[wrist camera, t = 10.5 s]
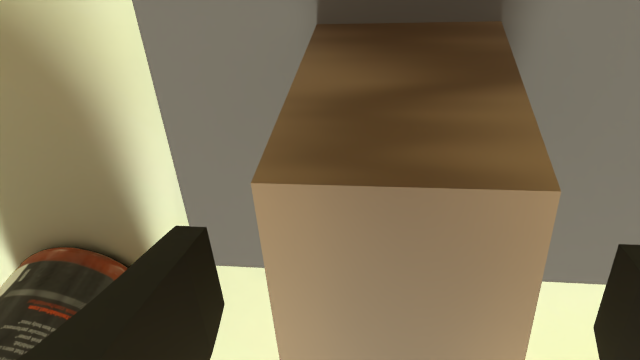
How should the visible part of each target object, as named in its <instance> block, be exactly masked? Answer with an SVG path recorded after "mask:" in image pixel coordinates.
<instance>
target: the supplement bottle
mask: <svg viewBox="0 0 640 360" xmlns="http://www.w3.org/2000/svg"><path fill="white" fill-rule="evenodd" d="M127 269H128V268H127V267H125V266H124V265H122V264H121V263H119V262H117V261H115V260H113V259H111V258H109V257H107V256H105V255H102V254H99V253H96V252H92V251H88V250H84V249H78V248H70V247H59V248H52V249H45V250H42V251H40V252H38V253H35V254H33V255H31V256H30V257H28V258H27V259H26V260H25V261H23V262H22V263H21V265H20V266H19V267H18V268H17V269H16V270H15V271H14V272H13V273H12V274H11V275H10V277H9V278H8V279H7V280H6V281H5V283H4V284H3V285H2V286H1V288H0V360H17V359H18V358H19V357H21V356H22V355H24V354H25V353H26V352H28V351H29V350H30V349H32V348H33V347H34V346H36V345H37V344H38V343H40V342H41V341H42V340H43V339H45V338H46V337H47V336H48V335H50V334H51V333H52V332H53V331H55V330H56V329H57V328H58V327H60V326H61V325H62V324H63V323H64V322H66V321H67V320H68V319H69V318H71V317H72V316H73V315H74V314H76V313H77V312H78V311H79V310H81V309H82V308H83V307H84V306H86V305H87V304H88V303H89V302H90V301H92V300H93V299H94V298H95V297H96V296H97V295H98V294H100V293H101V292H102V291H103V290H104V289H105V288H106V287H108V286H109V285H110V284H111V283H112V282H113V281H114V280H116V279H117V278H118V277H119V276H120V275H121V274H122V273H124V272H125V271H126V270H127Z"/></svg>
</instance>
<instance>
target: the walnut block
mask: <svg viewBox="0 0 640 360" xmlns="http://www.w3.org/2000/svg"><path fill="white" fill-rule="evenodd" d="M251 188H252V194H253V200H254V206H255V212H256V218H257V224H258V230H259V237H260V243H261V249H262V255H263V261H264V267H265V273H266V279H267V285H268V291H269V297H270V303H271V309H272V315H273V322H274V328H275V334H276V340H277V346H278V352H279V358H280V360H525V357H526V352H527V348H528V343H529V338H530V334H531V329H532V325H533V320H534V315H535V311H536V306H537V301H538V297H539V292H540V287H541V283H542V278H543V274H544V269H545V264H546V260H547V255H548V250H549V246H550V241H551V236H552V232H553V227H554V223H555V218H556V213H557V209H558V204H559V199H560V195H561V190H560V187H559V184H558V181H557V178H556V175H555V173H554V170H553V167H552V164H551V161H550V158H549V155H548V153H547V150H546V147H545V144H544V141H543V138H542V136H541V133H540V130H539V127H538V124H537V121H536V118H535V116H534V113H533V110H532V107H531V104H530V101H529V99H528V96H527V93H526V90H525V87H524V84H523V81H522V79H521V76H520V73H519V70H518V67H517V64H516V62H515V59H514V56H513V53H512V50H511V47H510V44H509V42H508V39H507V36H506V33H505V30H504V27H503V25H502V22H501V21H486V22H425V23H364V24H317V25H316V27H315V30H314V32H313V34H312V37H311V39H310V42H309V44H308V46H307V49H306V51H305V54H304V56H303V58H302V61H301V63H300V66H299V68H298V71H297V73H296V75H295V78H294V80H293V83H292V85H291V87H290V90H289V92H288V95H287V97H286V99H285V102H284V104H283V107H282V109H281V111H280V114H279V116H278V119H277V121H276V123H275V126H274V128H273V131H272V133H271V136H270V138H269V140H268V143H267V145H266V148H265V150H264V152H263V155H262V157H261V160H260V162H259V164H258V167H257V169H256V172H255V174H254V176H253V179H252V181H251Z"/></svg>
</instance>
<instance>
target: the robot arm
mask: <svg viewBox="0 0 640 360" xmlns="http://www.w3.org/2000/svg"><path fill="white" fill-rule="evenodd" d="M223 308H224V300H223V295H222V291H221V287H220V282H219V278H218V274H217V270H216V265H215V261H214V257H213V252H212V248H211V244H210V240H209V235H208V231H207V227H193V226H175V227H174V228H173V229H172V230H170V231H169V232H168V233H167V234H166V235H165V236H163V237H162V238H161V239H160V240H159V241H158V242H157V243H156V244H155V245H153V246H152V247H151V248H150V249H149V250H148V251H147V252H146V253H145V254H143V255H142V256H141V257H140V258H139V259H138V260H137V261H136V262H135V263H134V264H132V265H131V266H130V267H129V268H128V269H127V270H126V271H125V272H124V273H122V274H121V275H120V276H119V277H118V278H117V279H116V280H114V281H113V282H112V283H111V284H110V285H109V286H108V287H106V288H105V289H104V290H103V291H102V292H101V293H100V294H98V295H97V296H96V297H95V298H94V299H93V300H92V301H90V302H89V303H88V304H87V305H86V306H84V307H83V308H82V309H81V310H79V311H78V312H77V313H76V314H74V315H73V316H72V317H71V318H69V319H68V320H67V321H66V322H64V323H63V324H62V325H61V326H60V327H58V328H57V329H56V330H55V331H53V332H52V333H51V334H50V335H48V336H47V337H46V338H45V339H43V340H42V341H41V342H40V343H38V344H37V345H36V346H34V347H33V348H32V349H30V350H29V351H28V352H26V353H25V354H24V355H22V356H21V357H19V358H18V359H17V360H210V358H211V355H212V352H213V348H214V344H215V341H216V337H217V333H218V329H219V325H220V321H221V317H222V312H223ZM594 332H595V338H596V343H597V348H598V354H599V359H600V360H640V245H631V244H619V245H618V248H617V252H616V255H615V258H614V261H613V265H612V268H611V271H610V275H609V278H608V281H607V284H606V288H605V291H604V294H603V298H602V301H601V304H600V307H599V311H598V314H597V317H596V321H595V324H594Z"/></svg>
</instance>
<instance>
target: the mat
mask: <svg viewBox="0 0 640 360" xmlns="http://www.w3.org/2000/svg"><path fill="white" fill-rule="evenodd" d="M132 2H133V6H134V10H135V14H136V18H137V22H138V26H139V30H140V34H141V37H142V41H143V45H144V49H145V53H146V57H147V61H148V65H149V69H150V73H151V77H152V81H153V85H154V89H155V92H156V96H157V100H158V104H159V108H160V112H161V116H162V120H163V124H164V128H165V132H166V136H167V140H168V144H169V147H170V151H171V155H172V159H173V163H174V167H175V171H176V175H177V179H178V183H179V187H180V191H181V195H182V198H183V202H184V206H185V210H186V214H187V218H188V222H189V226H193V227H207V231H208V235H209V240H210V244H211V248H212V252H213V257H214V261H215V265H217V266H238V267H258V268H265V267H264V261H263V255H262V249H261V243H260V237H259V230H258V224H257V218H256V212H255V206H254V200H253V194H252V188H251V181H252V179H253V176H254V174H255V172H256V169H257V167H258V164H259V162H260V160H261V157H262V155H263V152H264V150H265V148H266V145H267V143H268V140H269V138H270V136H271V133H272V131H273V128H274V126H275V123H276V121H277V119H278V116H279V114H280V111H281V109H282V107H283V104H284V102H285V99H286V97H287V95H288V92H289V90H290V87H291V85H292V83H293V80H294V78H295V75H296V73H297V71H298V68H299V66H300V63H301V61H302V58H303V56H304V54H305V51H306V49H307V46H308V44H309V42H310V39H311V37H312V34H313V32H314V30H315V27H316V25H317V24H364V23H425V22H486V21H501V22H502V25H503V27H504V30H505V33H506V36H507V39H508V42H509V44H510V47H511V50H512V53H513V56H514V59H515V62H516V64H517V67H518V70H519V73H520V76H521V79H522V81H523V84H524V87H525V90H526V93H527V96H528V99H529V101H530V104H531V107H532V110H533V113H534V116H535V118H536V121H537V124H538V127H539V130H540V133H541V136H542V138H543V141H544V144H545V147H546V150H547V153H548V155H549V158H550V161H551V164H552V167H553V170H554V173H555V175H556V178H557V181H558V184H559V187H560V190H561V195H560V199H559V204H558V209H557V213H556V218H555V223H554V227H553V232H552V236H551V241H550V246H549V250H548V255H547V260H546V264H545V269H544V274H543V278H542V281H545V282H565V283H585V284H607V281H608V278H609V275H610V271H611V268H612V265H613V261H614V258H615V255H616V252H617V248H618V245H619V244H631V245H640V0H132Z"/></svg>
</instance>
